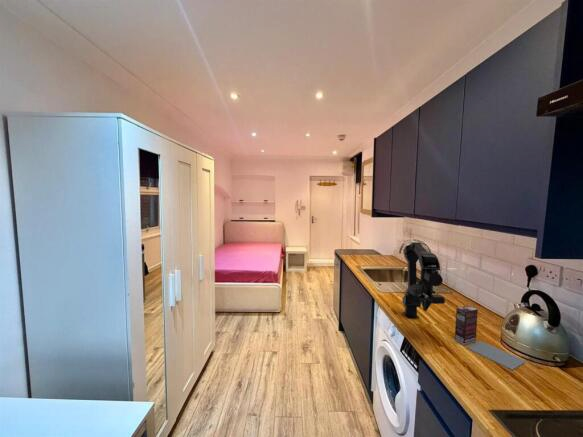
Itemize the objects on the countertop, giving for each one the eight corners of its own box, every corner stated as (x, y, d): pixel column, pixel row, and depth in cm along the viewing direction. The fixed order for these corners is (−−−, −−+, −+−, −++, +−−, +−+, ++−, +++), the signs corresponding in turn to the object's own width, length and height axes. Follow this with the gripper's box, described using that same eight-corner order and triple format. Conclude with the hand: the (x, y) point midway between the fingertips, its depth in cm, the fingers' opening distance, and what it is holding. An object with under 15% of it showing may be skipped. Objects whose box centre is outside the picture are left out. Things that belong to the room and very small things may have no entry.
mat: (465, 347, 114) (465, 347, 114) (480, 341, 120) (480, 340, 120) (512, 370, 99) (512, 369, 99) (526, 362, 105) (526, 361, 105)
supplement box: (466, 336, 124) (468, 305, 123) (476, 342, 119) (478, 309, 118) (453, 339, 121) (455, 307, 120) (463, 345, 116) (466, 311, 115)
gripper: (400, 274, 131) (399, 303, 133) (424, 286, 113) (422, 320, 114) (420, 273, 133) (418, 302, 134) (446, 285, 115) (444, 319, 116)
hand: (425, 310), depth 124 cm, fingers closed
